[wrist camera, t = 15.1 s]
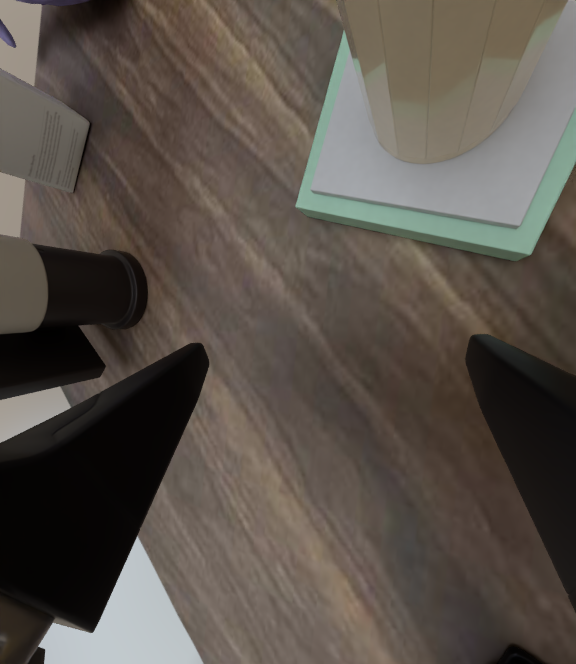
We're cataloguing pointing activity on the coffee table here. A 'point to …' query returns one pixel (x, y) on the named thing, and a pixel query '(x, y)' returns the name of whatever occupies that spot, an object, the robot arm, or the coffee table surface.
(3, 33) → the toy whale
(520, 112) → the scale
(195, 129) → the coffee table surface
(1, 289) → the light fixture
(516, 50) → the beige cup
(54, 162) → the cosmetic box
